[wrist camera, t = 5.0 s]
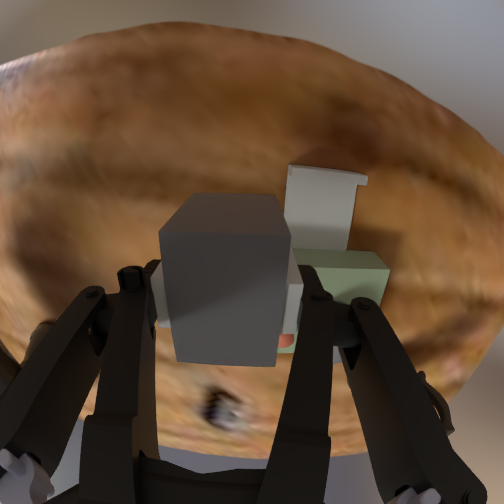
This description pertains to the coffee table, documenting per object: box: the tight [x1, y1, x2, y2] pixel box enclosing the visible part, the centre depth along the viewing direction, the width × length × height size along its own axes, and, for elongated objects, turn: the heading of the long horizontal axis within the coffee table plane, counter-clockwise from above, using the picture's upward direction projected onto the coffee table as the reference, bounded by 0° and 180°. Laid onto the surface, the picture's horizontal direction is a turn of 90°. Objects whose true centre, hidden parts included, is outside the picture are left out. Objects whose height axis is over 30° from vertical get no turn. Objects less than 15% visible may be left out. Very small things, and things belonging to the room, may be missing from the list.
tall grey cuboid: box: [159, 193, 291, 367], centre depth 15 cm, size 5×7×7 cm
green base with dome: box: [277, 164, 390, 364], centre depth 28 cm, size 16×22×9 cm
